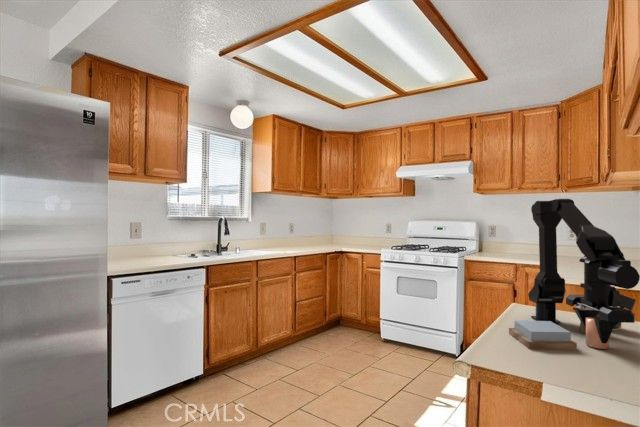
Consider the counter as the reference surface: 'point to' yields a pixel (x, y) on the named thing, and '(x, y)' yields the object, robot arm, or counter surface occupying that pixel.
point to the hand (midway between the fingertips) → (597, 339)
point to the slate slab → (542, 331)
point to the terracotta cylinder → (594, 335)
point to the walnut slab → (542, 342)
